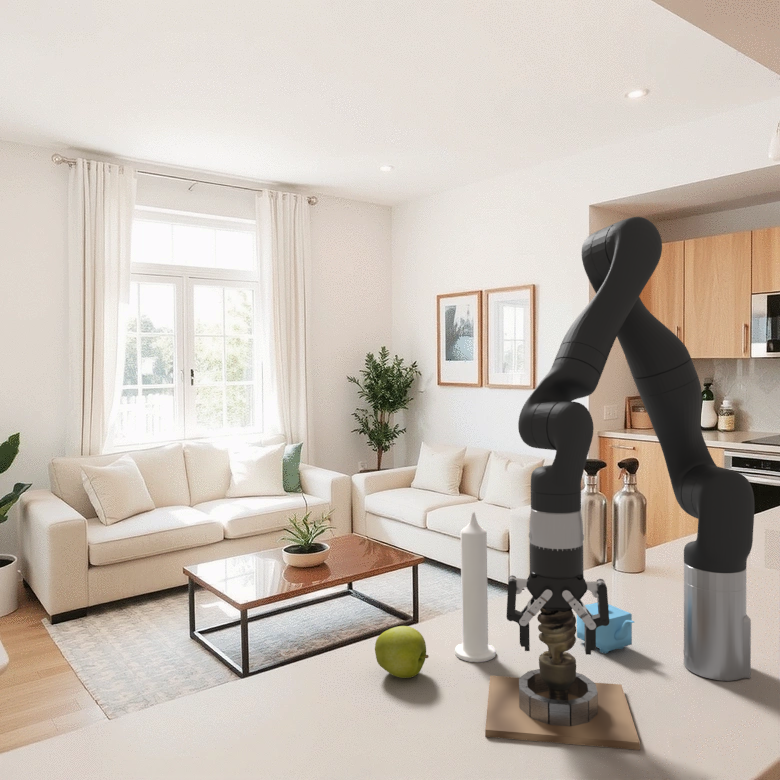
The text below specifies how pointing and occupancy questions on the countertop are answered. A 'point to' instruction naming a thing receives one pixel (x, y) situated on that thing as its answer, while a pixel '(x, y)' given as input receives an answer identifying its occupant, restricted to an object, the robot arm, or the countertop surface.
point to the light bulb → (557, 651)
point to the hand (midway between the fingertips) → (557, 650)
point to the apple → (401, 651)
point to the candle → (474, 595)
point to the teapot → (609, 629)
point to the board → (602, 730)
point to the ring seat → (558, 701)
